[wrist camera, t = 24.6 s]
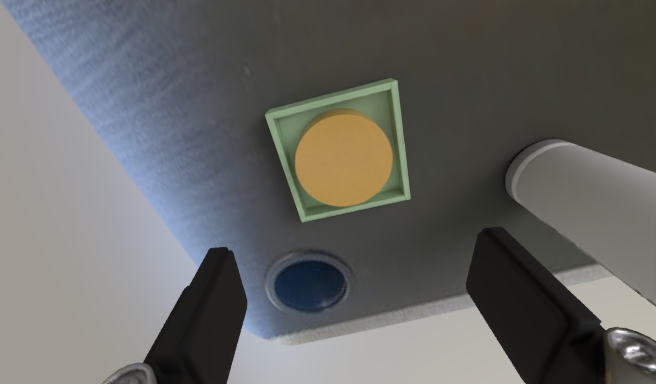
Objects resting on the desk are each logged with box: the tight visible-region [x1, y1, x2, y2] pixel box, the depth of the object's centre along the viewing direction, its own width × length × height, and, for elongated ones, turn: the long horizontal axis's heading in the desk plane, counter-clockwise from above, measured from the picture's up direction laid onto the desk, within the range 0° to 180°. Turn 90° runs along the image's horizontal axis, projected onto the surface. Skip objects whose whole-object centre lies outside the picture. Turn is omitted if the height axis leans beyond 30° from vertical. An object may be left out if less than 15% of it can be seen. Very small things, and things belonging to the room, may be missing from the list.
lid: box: [295, 108, 393, 207], centre depth 22 cm, size 8×8×3 cm
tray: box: [265, 78, 411, 222], centre depth 22 cm, size 10×10×2 cm
